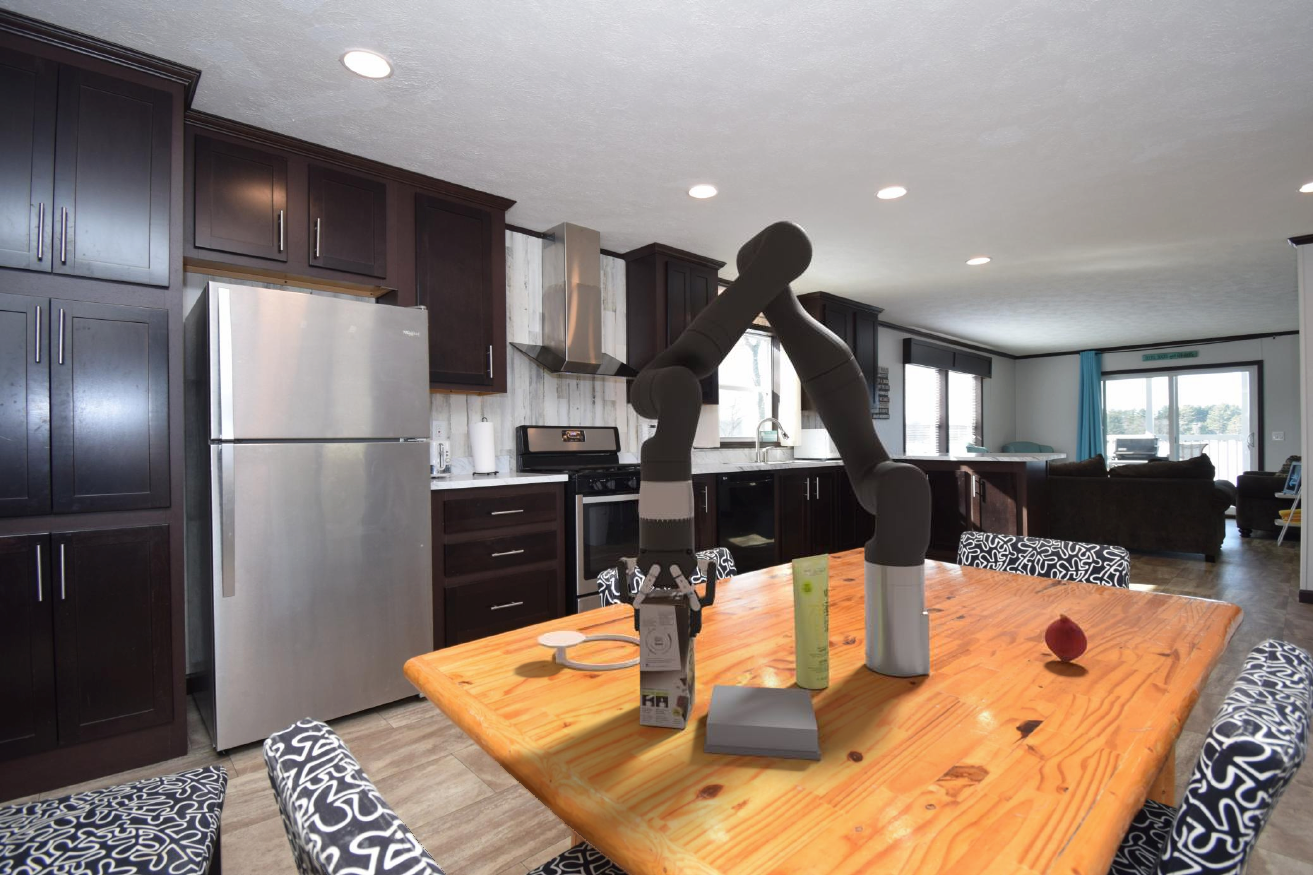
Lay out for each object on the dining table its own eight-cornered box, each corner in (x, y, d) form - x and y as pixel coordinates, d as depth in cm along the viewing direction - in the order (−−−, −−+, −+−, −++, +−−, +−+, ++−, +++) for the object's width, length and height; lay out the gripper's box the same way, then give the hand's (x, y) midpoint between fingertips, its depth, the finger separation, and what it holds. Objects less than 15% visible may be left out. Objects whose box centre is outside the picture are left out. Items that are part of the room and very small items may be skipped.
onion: (1083, 659, 107) (1083, 611, 107) (1090, 670, 102) (1089, 620, 102) (1043, 654, 109) (1042, 607, 109) (1047, 665, 104) (1047, 616, 104)
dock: (812, 713, 87) (811, 688, 87) (820, 760, 75) (820, 730, 75) (711, 708, 89) (711, 683, 89) (704, 752, 77) (703, 724, 77)
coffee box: (687, 729, 83) (685, 604, 83) (638, 725, 84) (637, 602, 84) (697, 701, 92) (695, 588, 92) (652, 698, 93) (651, 586, 93)
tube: (828, 693, 94) (826, 560, 94) (793, 689, 95) (791, 558, 95) (830, 679, 99) (828, 553, 99) (796, 676, 101) (795, 552, 101)
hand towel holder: (670, 634, 110) (559, 657, 99) (670, 660, 110) (559, 685, 99) (622, 611, 124) (520, 629, 114) (622, 634, 124) (520, 654, 114)
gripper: (720, 510, 90) (722, 629, 90) (621, 510, 93) (622, 625, 93) (717, 517, 83) (718, 646, 83) (609, 516, 85) (610, 641, 85)
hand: (668, 634), depth 88 cm, fingers closed on coffee box, 6 cm apart
